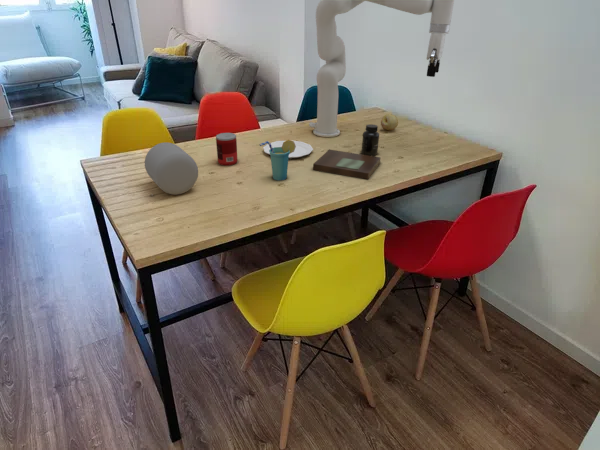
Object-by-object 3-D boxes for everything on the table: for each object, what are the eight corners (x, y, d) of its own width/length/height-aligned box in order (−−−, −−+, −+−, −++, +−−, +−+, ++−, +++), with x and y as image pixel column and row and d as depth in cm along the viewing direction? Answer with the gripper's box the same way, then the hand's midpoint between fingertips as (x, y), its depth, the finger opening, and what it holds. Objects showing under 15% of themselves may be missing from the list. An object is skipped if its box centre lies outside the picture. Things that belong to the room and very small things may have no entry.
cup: (266, 185, 161) (264, 145, 153) (256, 178, 166) (254, 139, 159) (299, 177, 167) (299, 139, 160) (288, 171, 173) (288, 133, 165)
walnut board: (313, 169, 174) (313, 163, 173) (328, 154, 189) (329, 148, 187) (368, 179, 167) (368, 172, 165) (380, 163, 181) (380, 156, 180)
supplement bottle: (378, 156, 188) (381, 128, 182) (362, 156, 188) (364, 128, 182) (376, 150, 194) (379, 123, 188) (360, 150, 194) (362, 123, 188)
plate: (284, 164, 178) (284, 160, 177) (253, 150, 192) (253, 147, 191) (322, 153, 190) (322, 149, 190) (291, 140, 204) (291, 137, 203)
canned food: (241, 160, 182) (239, 134, 176) (230, 167, 175) (228, 140, 170) (225, 157, 184) (223, 131, 179) (214, 164, 178) (211, 137, 173)
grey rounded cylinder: (136, 190, 145) (127, 154, 163) (171, 213, 155) (158, 177, 173) (177, 150, 142) (163, 118, 160) (209, 175, 152) (193, 143, 170)
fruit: (378, 128, 222) (379, 112, 218) (394, 128, 223) (396, 111, 219) (382, 133, 215) (384, 116, 211) (399, 132, 216) (401, 116, 212)
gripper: (432, 26, 183) (426, 69, 192) (426, 30, 169) (419, 77, 178) (451, 27, 181) (444, 71, 189) (446, 31, 167) (438, 79, 175)
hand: (432, 74), depth 183 cm, fingers open, 9 cm apart
